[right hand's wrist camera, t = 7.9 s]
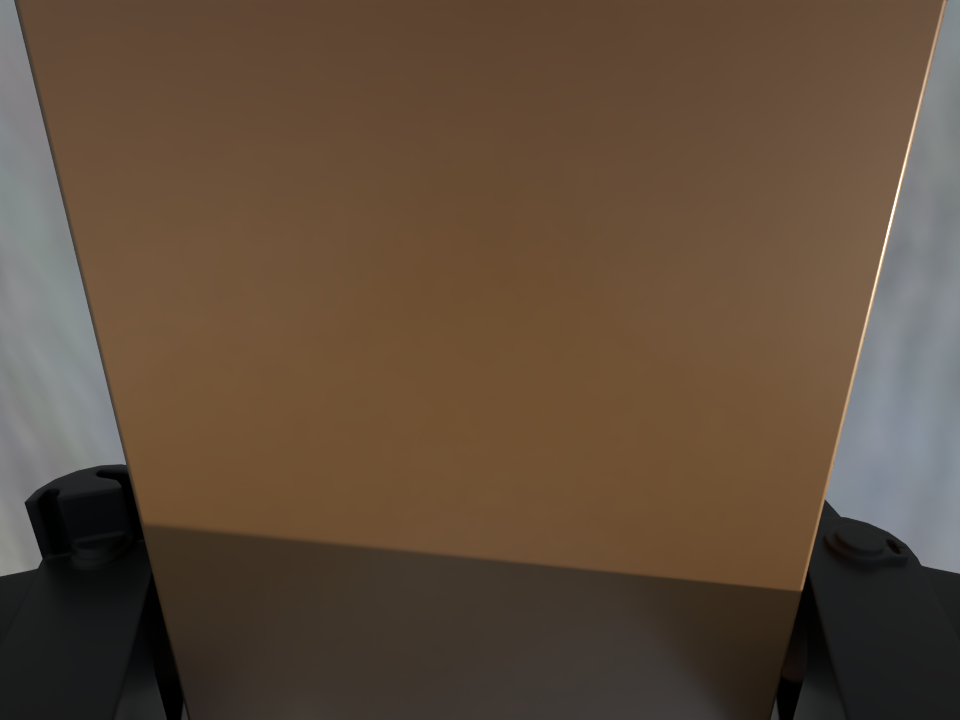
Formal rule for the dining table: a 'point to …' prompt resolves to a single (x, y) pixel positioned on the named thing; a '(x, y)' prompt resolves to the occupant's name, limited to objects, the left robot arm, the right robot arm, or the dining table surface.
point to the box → (480, 332)
